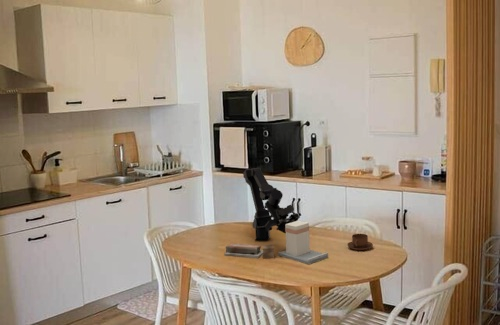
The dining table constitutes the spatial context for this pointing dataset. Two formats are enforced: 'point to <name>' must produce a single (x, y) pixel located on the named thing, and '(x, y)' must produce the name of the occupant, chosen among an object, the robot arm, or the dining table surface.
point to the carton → (297, 238)
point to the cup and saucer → (360, 242)
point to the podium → (305, 256)
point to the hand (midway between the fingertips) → (291, 236)
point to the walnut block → (268, 251)
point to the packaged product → (243, 250)
